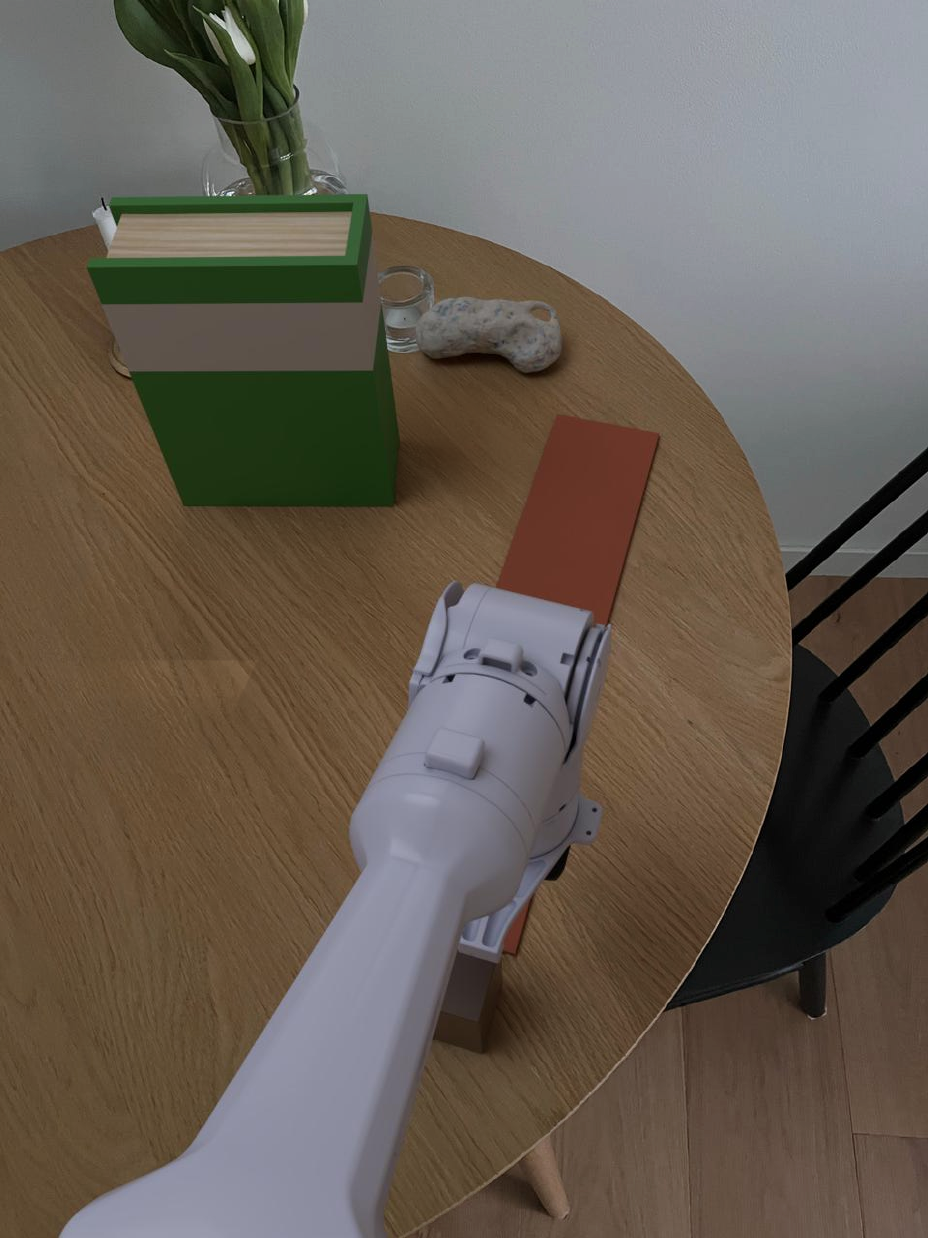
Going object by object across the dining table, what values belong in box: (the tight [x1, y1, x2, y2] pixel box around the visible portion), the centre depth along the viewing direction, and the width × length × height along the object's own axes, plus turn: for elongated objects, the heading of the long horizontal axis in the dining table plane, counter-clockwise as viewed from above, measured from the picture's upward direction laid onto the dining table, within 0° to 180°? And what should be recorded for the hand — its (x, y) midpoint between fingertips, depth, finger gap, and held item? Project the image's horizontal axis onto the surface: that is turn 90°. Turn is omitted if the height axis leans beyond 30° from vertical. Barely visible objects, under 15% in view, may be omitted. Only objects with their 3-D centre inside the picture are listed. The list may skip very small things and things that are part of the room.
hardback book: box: [86, 193, 401, 507], centre depth 80 cm, size 18×7×24 cm, turn 88°
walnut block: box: [432, 950, 503, 1055], centre depth 62 cm, size 4×4×8 cm
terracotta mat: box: [495, 413, 660, 956], centre depth 79 cm, size 46×9×1 cm, turn 163°
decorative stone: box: [414, 296, 563, 374], centre depth 95 cm, size 13×7×5 cm, turn 89°
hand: (520, 862), depth 59 cm, fingers closed
